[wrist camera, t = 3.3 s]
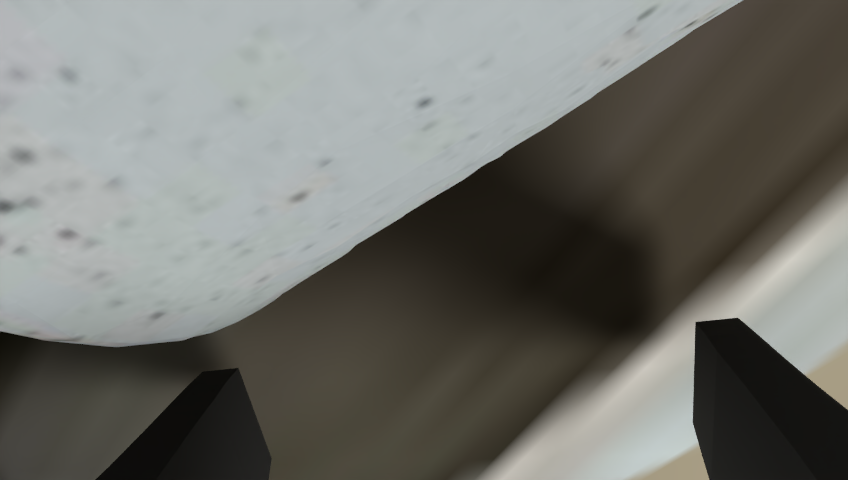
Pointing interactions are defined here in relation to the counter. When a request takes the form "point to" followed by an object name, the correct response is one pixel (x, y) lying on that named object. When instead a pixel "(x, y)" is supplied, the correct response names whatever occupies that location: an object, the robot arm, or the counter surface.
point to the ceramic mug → (262, 138)
